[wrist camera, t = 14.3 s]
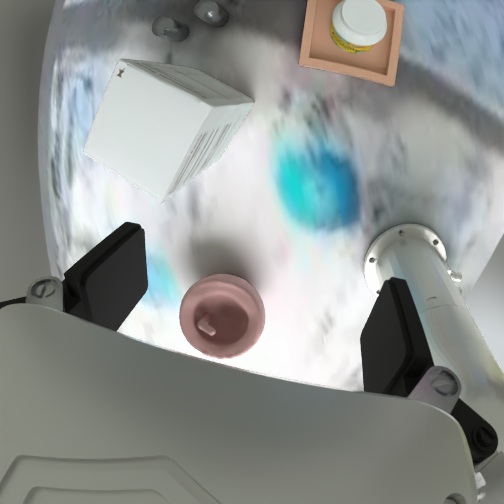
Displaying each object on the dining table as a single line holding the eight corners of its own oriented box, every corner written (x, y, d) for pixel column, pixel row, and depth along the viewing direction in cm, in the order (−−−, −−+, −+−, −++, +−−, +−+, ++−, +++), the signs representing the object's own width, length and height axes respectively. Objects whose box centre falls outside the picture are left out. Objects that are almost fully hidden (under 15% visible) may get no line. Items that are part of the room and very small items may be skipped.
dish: (400, 8, 24) (404, 5, 22) (390, 86, 29) (394, 86, 28) (310, -13, 25) (310, -17, 23) (299, 65, 30) (298, 64, 29)
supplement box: (161, 126, 37) (78, 153, 23) (193, 66, 33) (115, 55, 18) (220, 162, 38) (161, 207, 24) (258, 101, 34) (214, 105, 19)
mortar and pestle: (275, 265, 44) (261, 317, 34) (266, 326, 50) (253, 379, 40) (195, 252, 46) (163, 297, 36) (197, 312, 52) (172, 360, 42)
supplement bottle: (381, 28, 25) (403, 9, 17) (363, 62, 28) (380, 51, 20) (340, 7, 25) (348, -21, 17) (321, 41, 28) (324, 22, 20)
